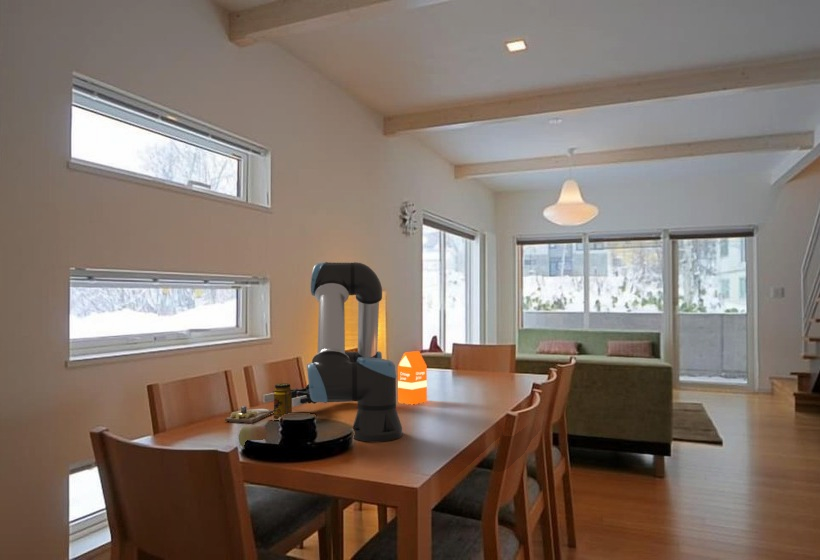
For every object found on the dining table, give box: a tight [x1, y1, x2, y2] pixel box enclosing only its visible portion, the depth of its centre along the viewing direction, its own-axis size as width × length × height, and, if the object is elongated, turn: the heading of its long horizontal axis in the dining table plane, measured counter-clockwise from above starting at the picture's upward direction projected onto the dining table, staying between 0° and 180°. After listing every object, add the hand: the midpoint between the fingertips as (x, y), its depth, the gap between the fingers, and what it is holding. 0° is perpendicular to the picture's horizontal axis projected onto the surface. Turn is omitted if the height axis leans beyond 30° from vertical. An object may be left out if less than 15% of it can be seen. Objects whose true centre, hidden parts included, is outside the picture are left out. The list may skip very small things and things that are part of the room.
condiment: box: [273, 383, 293, 419], centre depth 190 cm, size 7×8×12 cm
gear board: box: [224, 408, 274, 424], centre depth 191 cm, size 16×10×1 cm, turn 167°
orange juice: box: [397, 350, 428, 406], centre depth 216 cm, size 8×9×20 cm
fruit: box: [238, 420, 268, 449], centre depth 152 cm, size 8×7×8 cm
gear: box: [230, 406, 257, 419], centre depth 188 cm, size 9×9×3 cm
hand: (277, 400), depth 187 cm, fingers open, 13 cm apart
